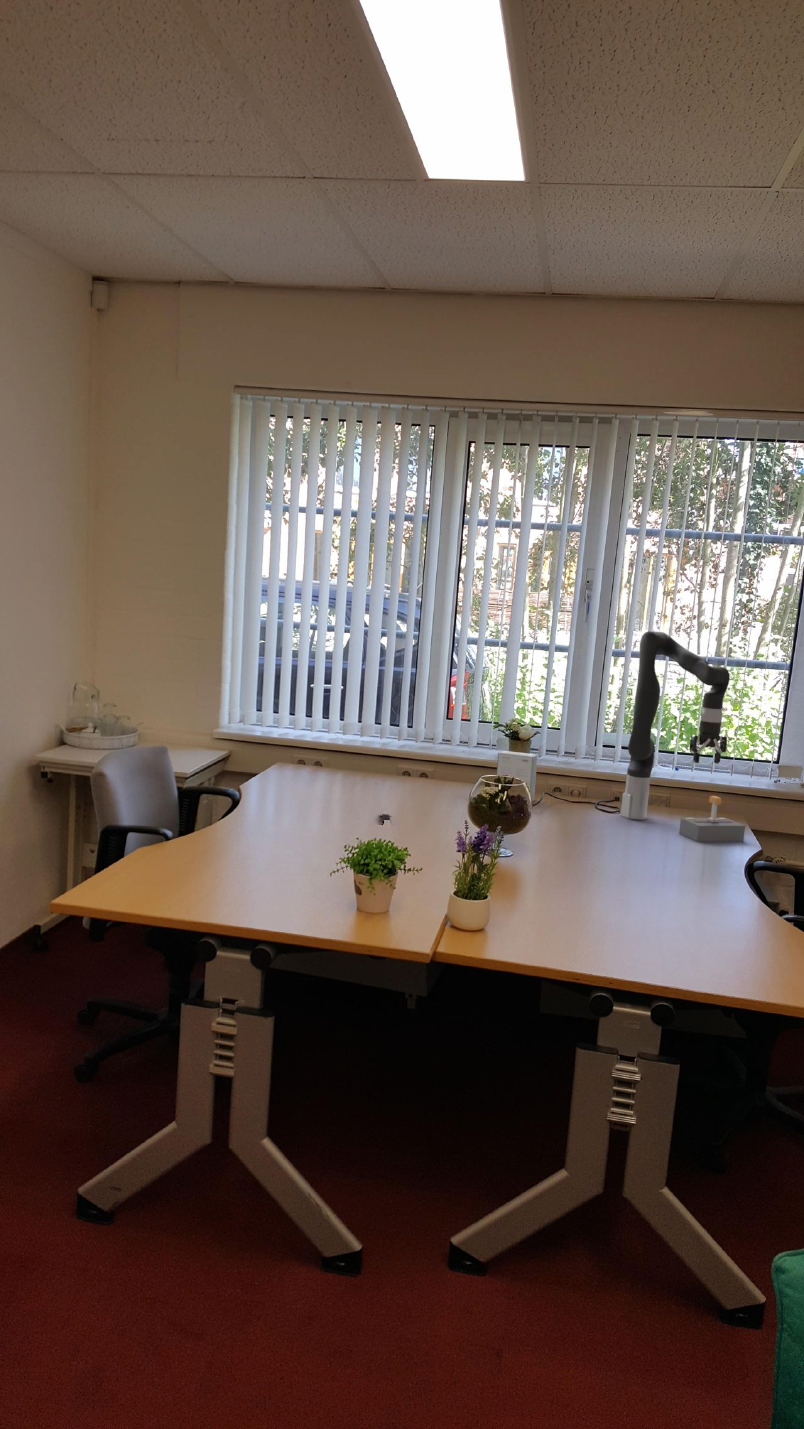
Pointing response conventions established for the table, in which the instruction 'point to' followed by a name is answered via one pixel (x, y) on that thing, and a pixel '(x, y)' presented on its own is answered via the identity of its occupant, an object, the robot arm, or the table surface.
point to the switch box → (712, 830)
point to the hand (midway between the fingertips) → (706, 762)
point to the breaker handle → (714, 808)
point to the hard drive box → (518, 767)
